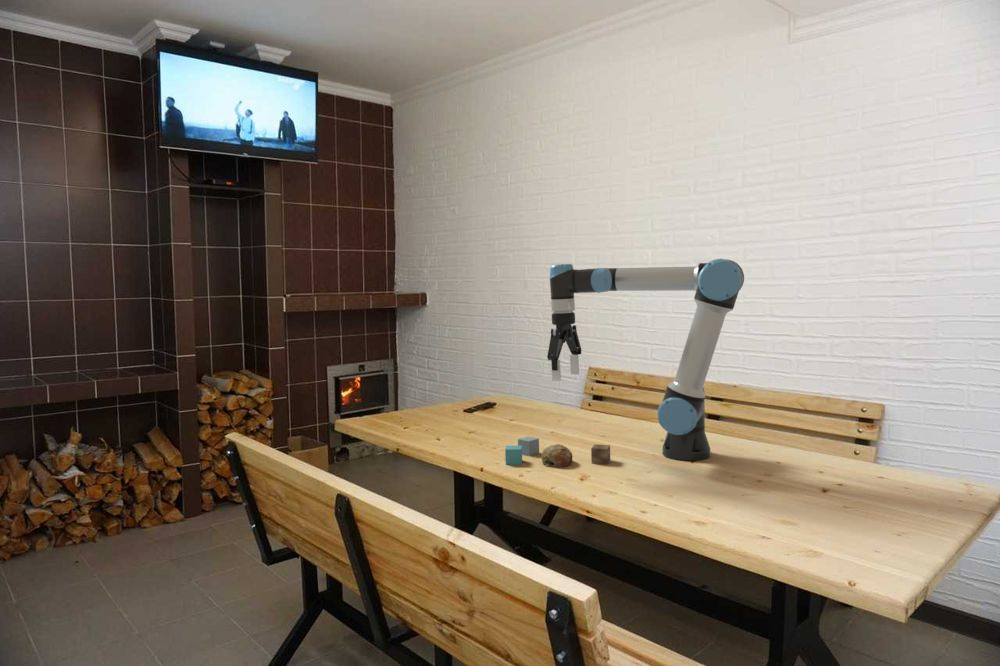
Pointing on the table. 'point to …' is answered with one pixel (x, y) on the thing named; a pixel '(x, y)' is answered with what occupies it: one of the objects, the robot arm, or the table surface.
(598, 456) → the walnut block
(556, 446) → the bread roll
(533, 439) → the slate grey block
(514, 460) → the dark teal block
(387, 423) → the table surface
